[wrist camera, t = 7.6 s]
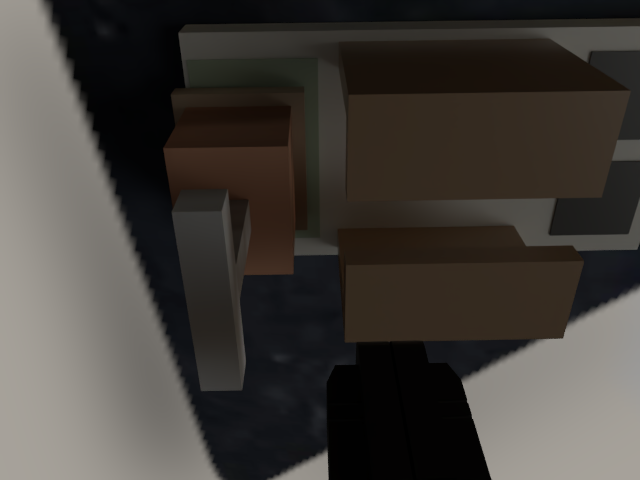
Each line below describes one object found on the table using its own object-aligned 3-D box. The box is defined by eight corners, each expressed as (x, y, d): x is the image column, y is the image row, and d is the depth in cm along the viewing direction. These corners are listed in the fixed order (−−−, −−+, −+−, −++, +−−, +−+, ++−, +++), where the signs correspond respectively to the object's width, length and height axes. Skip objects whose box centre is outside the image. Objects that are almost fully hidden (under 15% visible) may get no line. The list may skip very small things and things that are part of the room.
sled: (175, 88, 22) (92, 213, 14) (304, 86, 22) (300, 210, 14) (194, 222, 26) (136, 392, 17) (307, 220, 26) (306, 388, 17)
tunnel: (185, 24, 23) (133, 83, 16) (688, 17, 23) (848, 73, 16) (212, 239, 28) (181, 353, 21) (622, 233, 28) (721, 343, 21)
